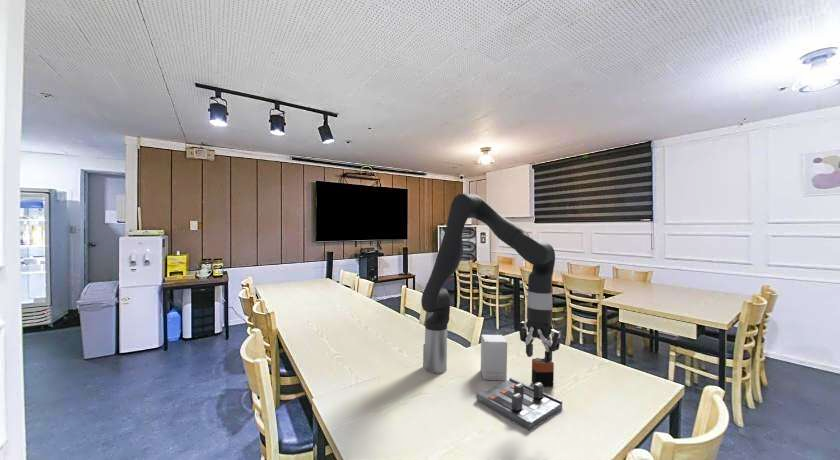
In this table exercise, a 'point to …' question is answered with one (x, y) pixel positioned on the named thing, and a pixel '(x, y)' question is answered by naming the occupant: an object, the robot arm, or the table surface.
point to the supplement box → (493, 357)
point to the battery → (542, 372)
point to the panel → (531, 409)
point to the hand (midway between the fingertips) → (538, 359)
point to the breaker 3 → (538, 390)
